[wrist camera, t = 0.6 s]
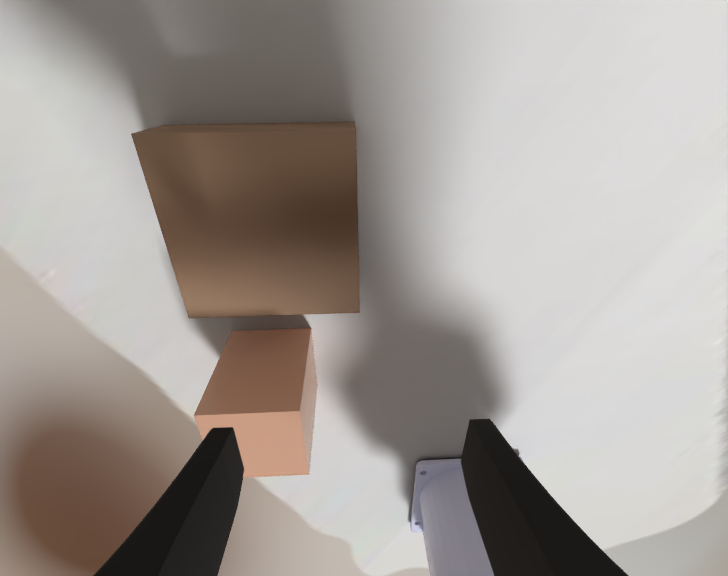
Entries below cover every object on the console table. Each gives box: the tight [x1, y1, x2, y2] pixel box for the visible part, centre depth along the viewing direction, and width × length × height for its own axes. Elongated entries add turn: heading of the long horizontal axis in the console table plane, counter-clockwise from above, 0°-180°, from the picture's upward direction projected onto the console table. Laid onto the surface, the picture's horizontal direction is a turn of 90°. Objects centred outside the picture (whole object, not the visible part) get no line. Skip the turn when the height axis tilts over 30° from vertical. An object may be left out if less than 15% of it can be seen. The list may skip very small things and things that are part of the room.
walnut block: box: [131, 122, 360, 318], centre depth 16 cm, size 8×8×3 cm
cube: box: [194, 328, 317, 478], centre depth 19 cm, size 4×4×6 cm
